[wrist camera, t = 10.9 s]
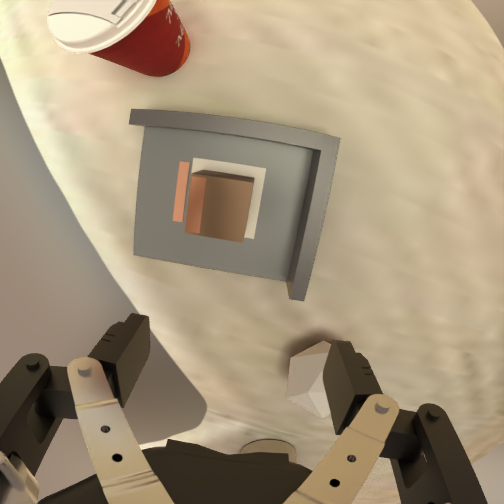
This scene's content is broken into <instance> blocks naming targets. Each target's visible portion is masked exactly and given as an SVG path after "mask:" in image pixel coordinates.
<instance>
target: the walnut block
mask: <svg viewBox="0 0 504 504" xmlns="http://www.w3.org/2000/svg"><path fill="white" fill-rule="evenodd" d="M254 179H255V178H254V177H248V176H242V175H236V174H230V173H223V172H216V171H210V170H200V171H197V172H194V173H191V179H190V187H189V195H188V203H187V211H186V220H185V229H184V233H186V234H192V235H198V236H204V237H210V238H216V239H222V240H228V241H234V242H240V243H243V241H244V236H245V231H246V226H247V220H248V214H249V208H250V203H251V197H252V191H253V185H254Z"/></svg>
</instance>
